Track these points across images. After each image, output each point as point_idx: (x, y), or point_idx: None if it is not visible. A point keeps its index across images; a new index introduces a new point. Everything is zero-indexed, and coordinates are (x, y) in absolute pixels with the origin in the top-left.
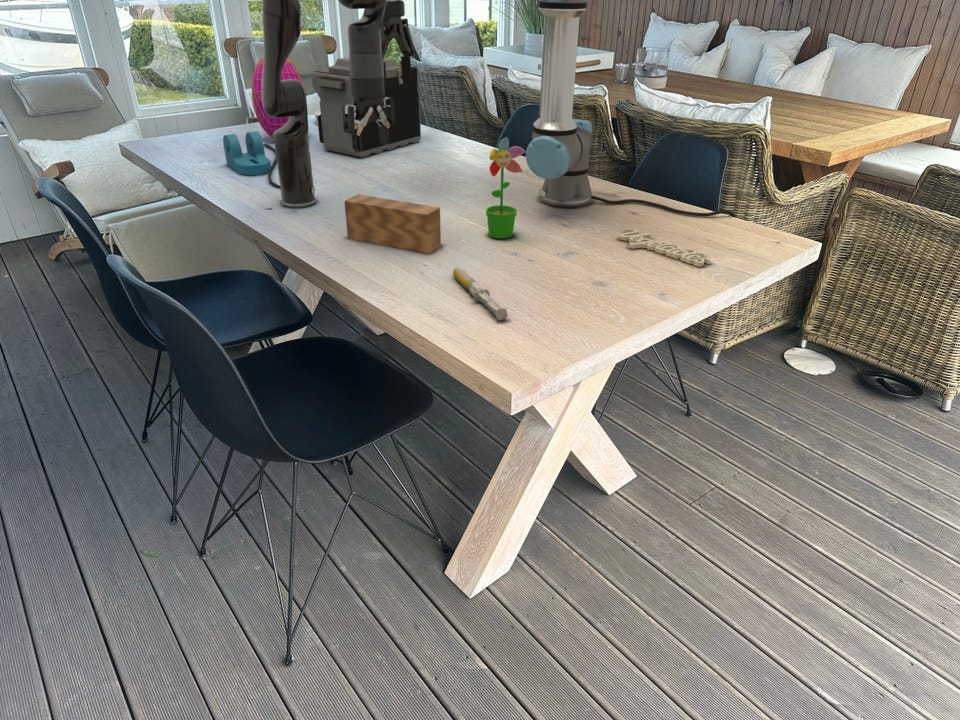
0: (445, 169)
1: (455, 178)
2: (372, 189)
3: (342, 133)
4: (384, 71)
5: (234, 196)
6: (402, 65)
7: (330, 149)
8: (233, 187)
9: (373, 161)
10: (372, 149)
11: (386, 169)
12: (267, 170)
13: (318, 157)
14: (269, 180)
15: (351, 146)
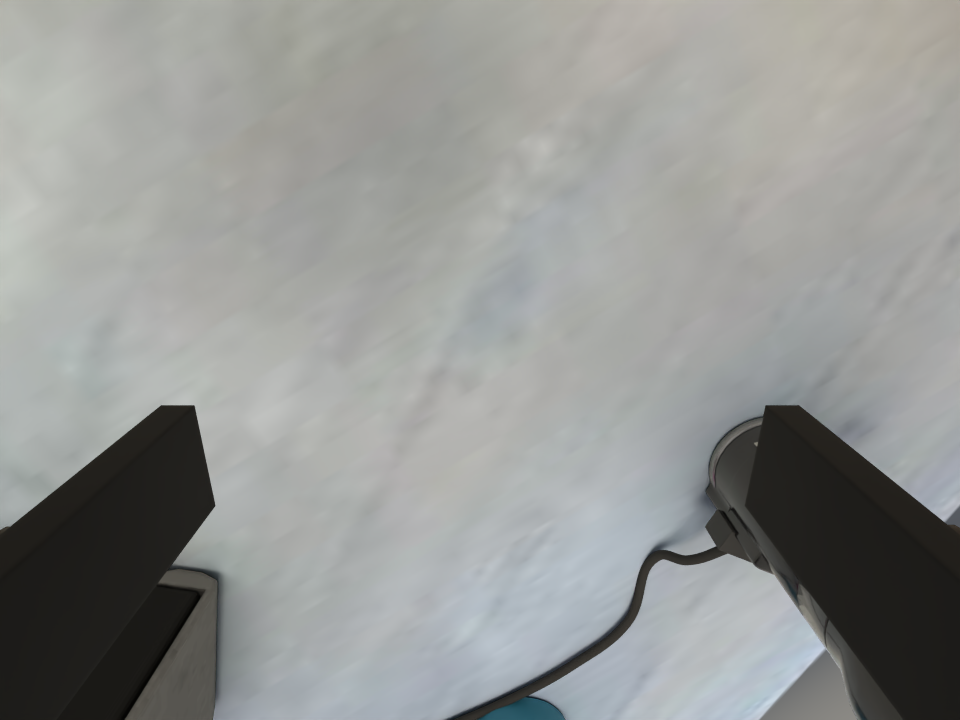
0: (118, 222)
1: (208, 105)
2: (525, 340)
3: (185, 703)
4: (944, 526)
5: (757, 641)
6: (101, 635)
7: (214, 691)
8: (681, 688)
9: (213, 523)
10: None
11: (273, 431)
12: (520, 704)
13: (288, 681)
14: (608, 646)
15: (206, 633)
